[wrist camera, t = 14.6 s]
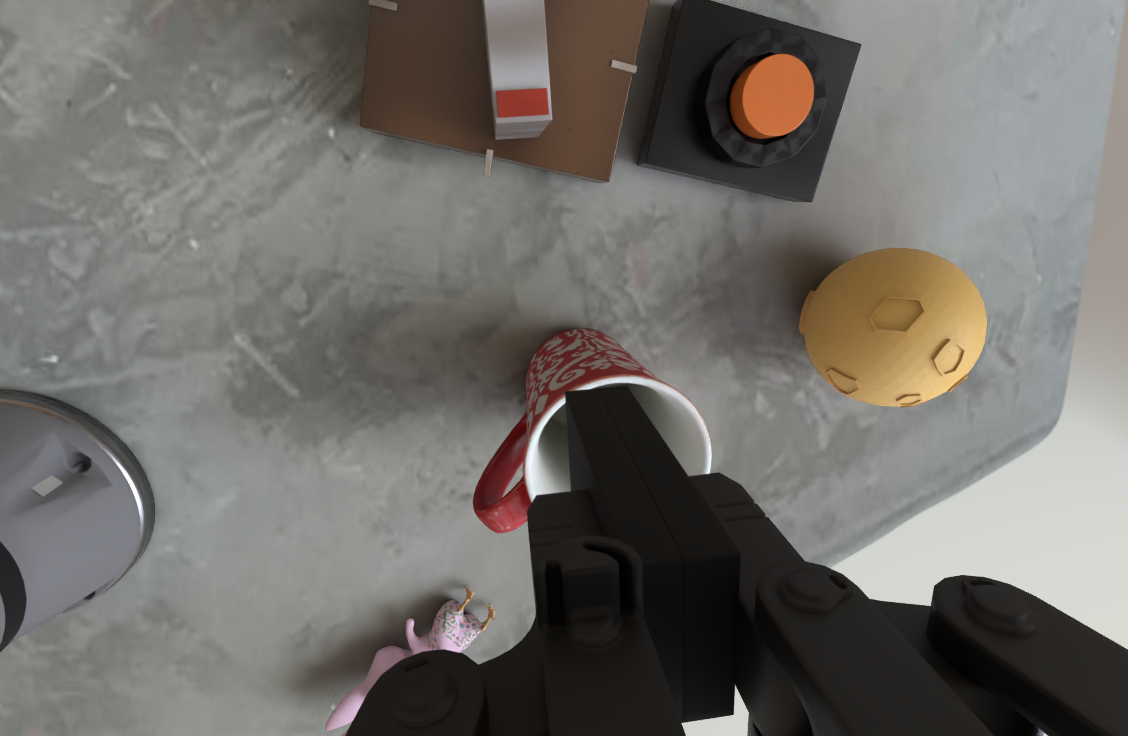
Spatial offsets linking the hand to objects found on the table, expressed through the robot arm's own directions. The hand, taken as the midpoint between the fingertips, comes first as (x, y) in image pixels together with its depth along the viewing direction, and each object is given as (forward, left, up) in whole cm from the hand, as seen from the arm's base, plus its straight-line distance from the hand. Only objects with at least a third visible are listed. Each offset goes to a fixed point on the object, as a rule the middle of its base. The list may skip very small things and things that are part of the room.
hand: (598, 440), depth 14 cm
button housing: (+10, +13, -24) cm, 30 cm away
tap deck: (-4, +13, -24) cm, 28 cm away
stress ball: (+22, +2, -25) cm, 33 cm away
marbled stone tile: (-4, +13, -21) cm, 25 cm away
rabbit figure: (-4, -30, -25) cm, 39 cm away
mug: (+3, -7, -25) cm, 26 cm away
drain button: (+11, +13, -21) cm, 27 cm away
